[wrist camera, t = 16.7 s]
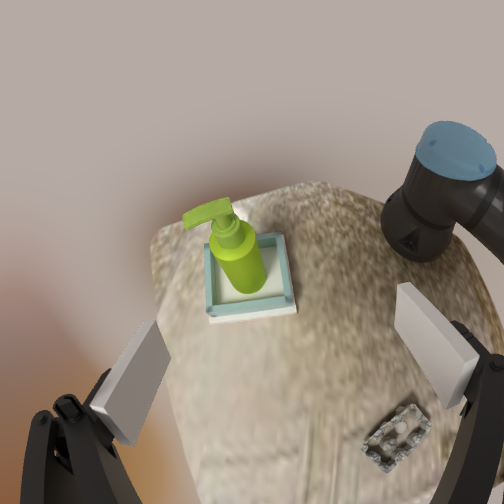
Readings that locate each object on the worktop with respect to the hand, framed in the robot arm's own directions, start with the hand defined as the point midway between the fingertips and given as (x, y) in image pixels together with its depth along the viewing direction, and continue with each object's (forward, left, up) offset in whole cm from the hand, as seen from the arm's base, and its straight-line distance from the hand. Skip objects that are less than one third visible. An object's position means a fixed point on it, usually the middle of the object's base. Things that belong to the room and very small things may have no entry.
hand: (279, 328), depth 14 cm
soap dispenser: (+5, -14, -28) cm, 32 cm away
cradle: (+5, -14, -29) cm, 33 cm away
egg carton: (-15, +16, -30) cm, 37 cm away
